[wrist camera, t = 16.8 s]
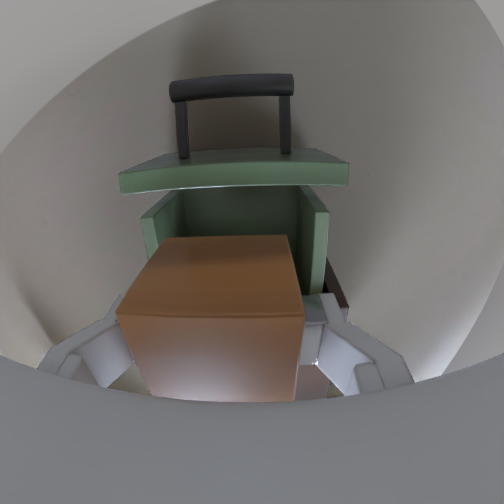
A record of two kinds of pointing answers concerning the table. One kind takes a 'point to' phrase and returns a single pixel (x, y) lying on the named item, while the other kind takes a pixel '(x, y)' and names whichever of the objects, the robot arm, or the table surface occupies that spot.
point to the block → (217, 319)
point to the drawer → (240, 182)
